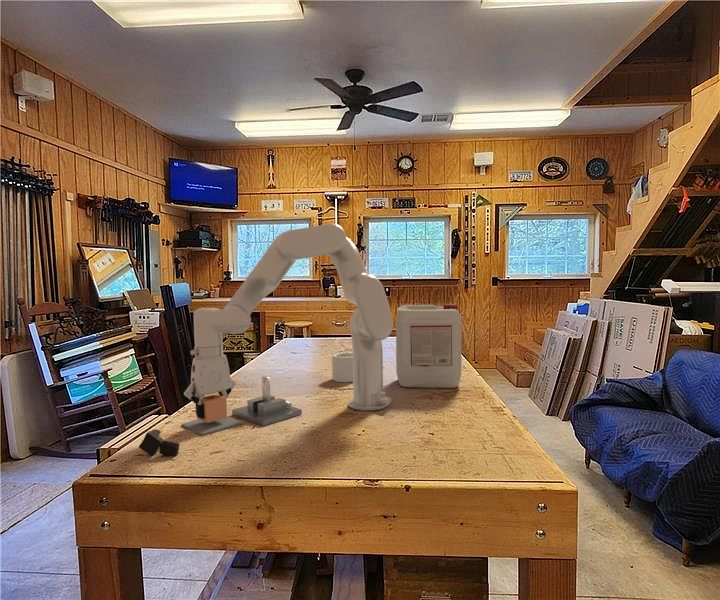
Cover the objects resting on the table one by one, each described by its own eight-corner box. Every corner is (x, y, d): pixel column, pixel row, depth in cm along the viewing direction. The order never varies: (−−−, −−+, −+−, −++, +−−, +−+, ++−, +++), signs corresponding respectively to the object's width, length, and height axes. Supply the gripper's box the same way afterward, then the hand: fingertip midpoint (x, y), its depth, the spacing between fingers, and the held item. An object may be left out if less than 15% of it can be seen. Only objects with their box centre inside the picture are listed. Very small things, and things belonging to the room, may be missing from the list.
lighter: (173, 463, 112) (184, 444, 111) (168, 467, 110) (179, 448, 109) (143, 443, 113) (154, 424, 112) (138, 447, 110) (149, 427, 110)
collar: (226, 417, 132) (226, 396, 131) (207, 423, 127) (206, 401, 127) (216, 413, 136) (215, 393, 135) (196, 418, 131) (195, 397, 131)
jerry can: (457, 377, 184) (457, 302, 182) (463, 389, 165) (463, 306, 163) (397, 377, 186) (396, 302, 184) (396, 389, 168) (395, 306, 166)
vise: (301, 414, 140) (300, 376, 139) (263, 426, 130) (261, 385, 129) (270, 404, 151) (269, 369, 150) (232, 414, 141) (230, 377, 140)
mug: (359, 382, 178) (358, 357, 177) (331, 383, 178) (330, 357, 178) (360, 374, 192) (359, 350, 191) (334, 375, 192) (333, 351, 191)
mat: (241, 424, 132) (241, 422, 132) (202, 435, 123) (202, 433, 123) (219, 415, 140) (219, 413, 140) (181, 425, 131) (181, 423, 131)
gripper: (186, 358, 121) (189, 425, 123) (243, 349, 134) (245, 410, 135) (173, 354, 127) (176, 419, 128) (229, 346, 139) (231, 405, 140)
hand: (211, 414), depth 131 cm, fingers closed on collar, 5 cm apart
